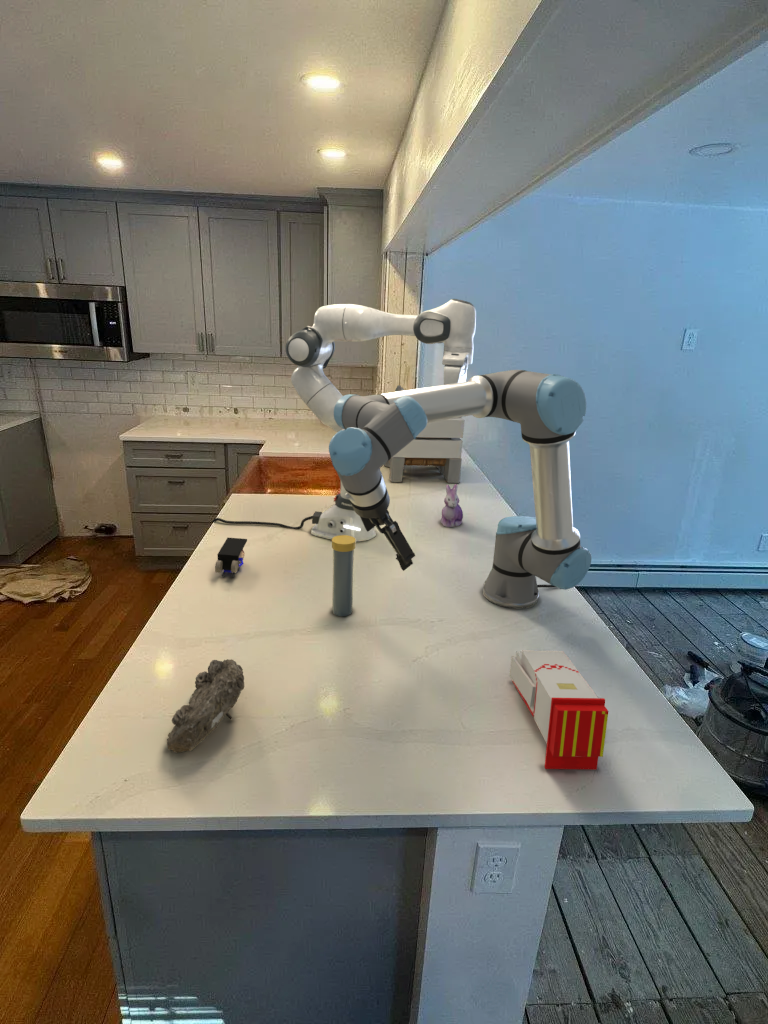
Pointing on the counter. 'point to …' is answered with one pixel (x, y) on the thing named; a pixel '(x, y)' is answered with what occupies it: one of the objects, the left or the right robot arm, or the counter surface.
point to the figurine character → (230, 556)
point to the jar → (342, 582)
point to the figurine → (451, 508)
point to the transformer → (432, 450)
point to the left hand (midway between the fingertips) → (454, 403)
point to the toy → (561, 708)
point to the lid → (343, 543)
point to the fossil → (206, 705)
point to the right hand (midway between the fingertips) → (388, 546)
